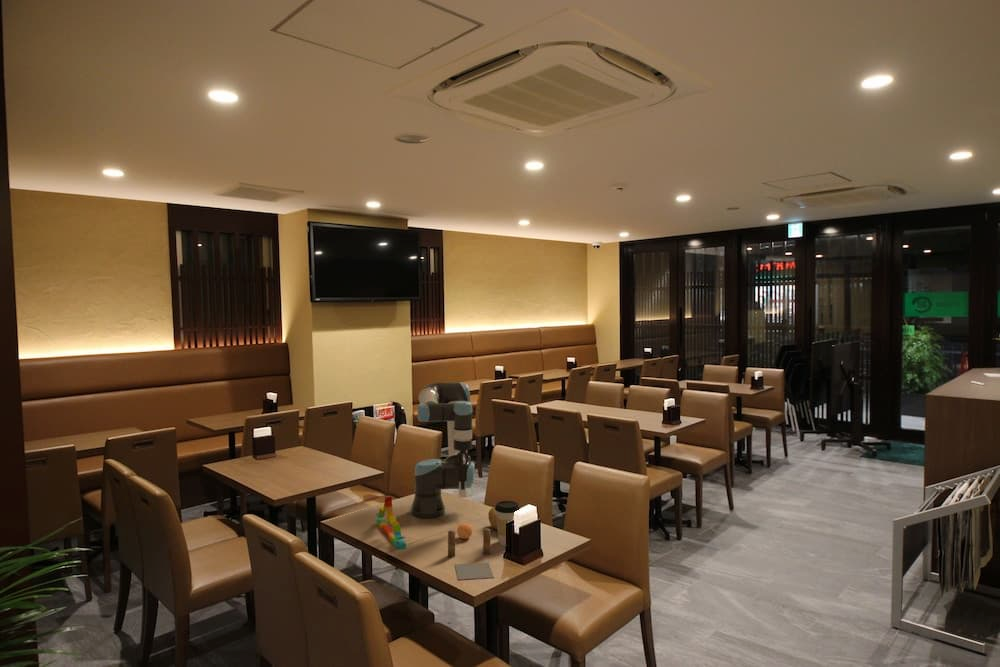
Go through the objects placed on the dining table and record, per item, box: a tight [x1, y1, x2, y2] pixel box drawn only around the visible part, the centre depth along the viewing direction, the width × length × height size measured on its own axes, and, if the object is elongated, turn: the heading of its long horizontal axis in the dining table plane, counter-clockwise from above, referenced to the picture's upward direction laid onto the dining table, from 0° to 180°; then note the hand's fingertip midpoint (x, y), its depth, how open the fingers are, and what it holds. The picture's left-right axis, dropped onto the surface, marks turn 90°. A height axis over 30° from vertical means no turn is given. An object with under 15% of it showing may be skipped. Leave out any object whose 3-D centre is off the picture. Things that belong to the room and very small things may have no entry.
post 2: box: [482, 528, 491, 556], centre depth 217 cm, size 3×3×9 cm
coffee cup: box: [494, 500, 521, 546], centre depth 229 cm, size 10×10×15 cm
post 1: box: [447, 529, 456, 558], centre depth 215 cm, size 3×3×9 cm
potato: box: [487, 506, 497, 530], centre depth 242 cm, size 10×14×8 cm
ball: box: [456, 522, 473, 540], centre depth 232 cm, size 6×6×6 cm
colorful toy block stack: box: [376, 496, 407, 550], centre depth 235 cm, size 30×3×15 cm, turn 27°
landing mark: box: [454, 562, 495, 581], centre depth 202 cm, size 12×12×1 cm
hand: (462, 496), depth 241 cm, fingers closed
